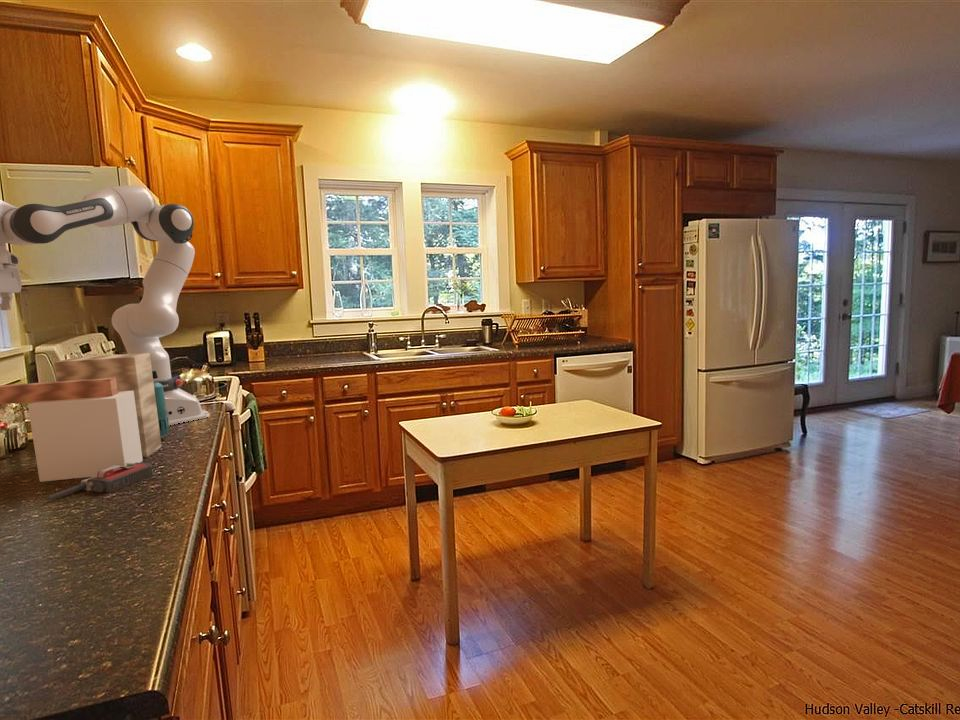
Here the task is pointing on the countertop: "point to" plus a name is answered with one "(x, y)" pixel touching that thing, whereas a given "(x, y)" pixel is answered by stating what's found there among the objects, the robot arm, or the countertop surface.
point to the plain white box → (84, 435)
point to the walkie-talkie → (111, 479)
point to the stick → (57, 390)
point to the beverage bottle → (161, 406)
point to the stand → (122, 387)
